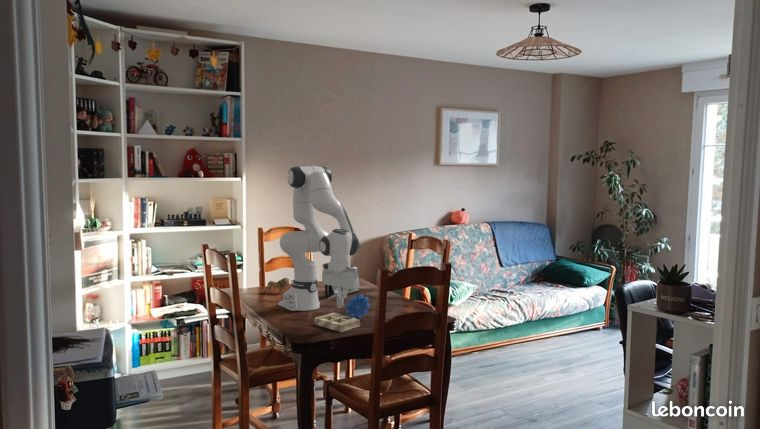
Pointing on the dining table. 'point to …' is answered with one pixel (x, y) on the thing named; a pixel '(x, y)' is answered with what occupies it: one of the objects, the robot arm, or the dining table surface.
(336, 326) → the socket block
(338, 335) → the dining table surface
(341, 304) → the plug
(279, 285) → the lion figurine
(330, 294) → the radio
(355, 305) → the grapes
